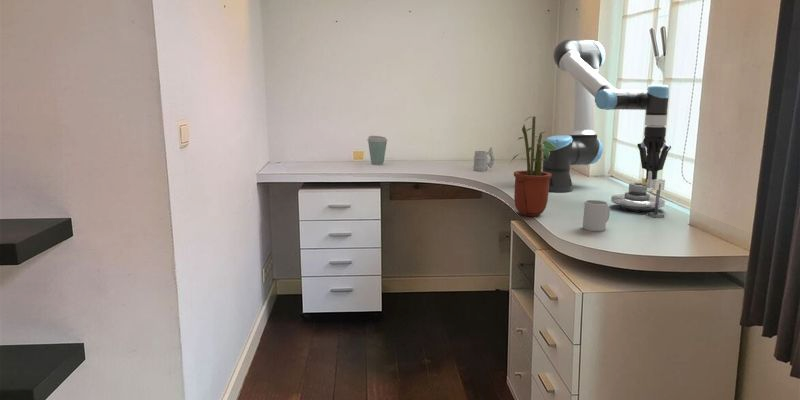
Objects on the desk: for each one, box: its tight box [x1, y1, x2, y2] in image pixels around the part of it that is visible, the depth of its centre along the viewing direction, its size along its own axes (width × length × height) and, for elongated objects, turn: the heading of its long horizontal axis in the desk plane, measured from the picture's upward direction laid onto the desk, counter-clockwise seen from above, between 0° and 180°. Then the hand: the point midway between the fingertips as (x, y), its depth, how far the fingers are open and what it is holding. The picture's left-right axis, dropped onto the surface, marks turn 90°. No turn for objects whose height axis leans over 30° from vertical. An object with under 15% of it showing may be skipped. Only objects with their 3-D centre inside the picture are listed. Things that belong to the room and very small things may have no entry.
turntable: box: [610, 177, 666, 209], centre depth 232 cm, size 19×19×8 cm
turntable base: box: [620, 205, 653, 213], centre depth 233 cm, size 11×11×2 cm
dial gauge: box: [647, 178, 666, 219], centre depth 220 cm, size 4×6×13 cm
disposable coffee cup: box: [366, 135, 388, 166], centre depth 331 cm, size 11×11×15 cm
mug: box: [472, 147, 495, 172], centre depth 319 cm, size 8×12×12 cm, turn 112°
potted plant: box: [509, 115, 558, 217], centre depth 218 cm, size 17×16×35 cm
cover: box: [624, 182, 651, 201], centre depth 232 cm, size 9×9×6 cm
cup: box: [582, 199, 611, 232], centre depth 199 cm, size 7×10×9 cm
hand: (650, 187), depth 236 cm, fingers closed
